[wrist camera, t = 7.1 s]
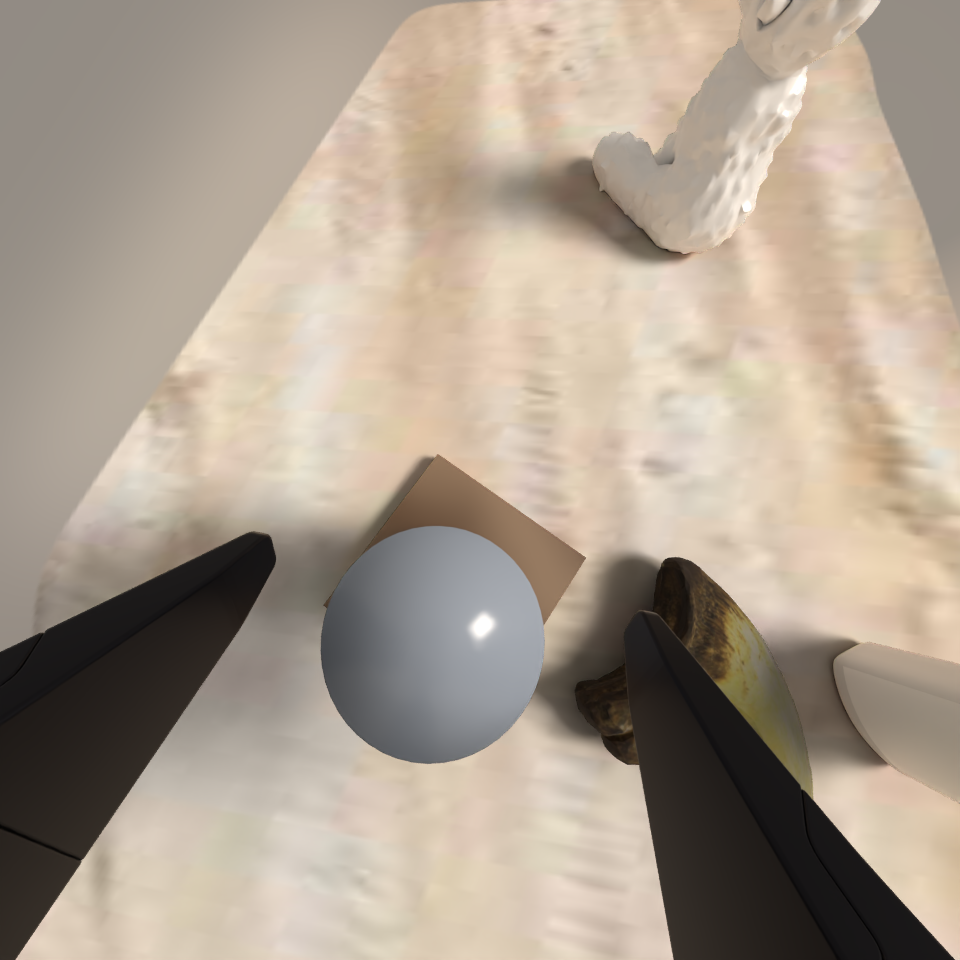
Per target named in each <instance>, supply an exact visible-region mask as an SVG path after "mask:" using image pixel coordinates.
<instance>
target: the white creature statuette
mask: <svg viewBox="0 0 960 960" xmlns="http://www.w3.org/2000/svg"><path fill="white" fill-rule="evenodd" d="M738 1H739V5H740V9H741V14H742V19H741V23H740V27H739V33H738V41H737V44H736V45H735V46H734V47H731V48H729V49H728V50H727V51H726V52H725V53H724V54H723V57H722V59H721V60H720V61H719V62H718V63H717V65H716V66H715V67H714V68H713V70H712V71H711V72H710V74H709V77H708V78H706V79H705V80H704V81H703V83H702V85H701V90H700V91H699V92H698V93H697V94H696V95H695V96H693V97H692V98H691V100H690V102H689V104H688V107H687V110H686V112H685V115H684V116H682V117H681V118H679V121H678V123H677V130H676V131H675V132H674V133H672V134H669V135H668V136H667V138H666V140H665V141H664V144H663V147H662V148H660V149H659V150H658V152H657V153H655V154H654V155H653V154H652V151H651V149H650V146H649V144H648V143H647V142H644V140H643V139H642V138H636V137H635V136H634V135H633V134H632V133H630V132H627V133H625V134H623V133H617V132H612V133H611V134H610V135H609V136H607V137H604V138H603V139H602V140H601V141H600V143H599V144H598V146H597V148H596V150H595V152H594V155H593V159H592V165H593V169H594V173H595V177H596V179H597V181H598V182H599V184H600V188H599V191H600V192H601V191H603V190H604V191H605V192H606V193H608V195H609V196H610V197H611V199H612V200H613V201H614V202H615V203H616V204H617V205H618V206H619V207H620V208H621V209H622V210H623V211H624V214H625V215H628V216H629V217H630V218H631V219H632V220H633V221H634V222H635V224H636V225H637V226H638V227H639V228H642V229H643V230H644V231H645V232H646V233H647V235H648V236H649V237H650V238H651V239H652V241H653V242H654V243H655V244H656V246H659V247H660V248H663V249H668V250H669V251H672V252H681V253H682V254H687V253H690V252H697V253H703V252H705V251H706V250H711V249H712V248H713V247H719V246H720V244H721V243H722V242H723V241H724V240H725V239H728V238H730V237H731V236H732V233H733V232H734V231H735V230H736V229H737V228H739V227H740V226H741V225H742V224H744V223H745V218H747V217H748V216H749V215H750V214H751V212H752V211H753V210H754V209H755V205H756V199H757V193H758V191H759V187H760V185H761V183H762V182H763V181H764V180H765V178H766V177H767V176H768V175H767V168H768V166H769V164H770V163H771V162H772V160H773V152H774V150H775V149H776V147H777V146H778V145H779V144H781V142H782V141H783V140H784V138H785V137H786V136H787V135H788V134H789V132H790V131H791V127H792V122H793V120H794V118H795V117H796V115H797V114H798V113H799V112H800V109H801V107H802V101H801V98H802V96H803V94H804V91H805V86H806V82H807V78H806V75H805V74H806V72H807V70H808V67H807V65H808V64H810V63H812V62H814V61H816V60H818V59H820V58H821V57H823V56H824V55H825V54H826V53H827V52H829V51H830V50H832V49H834V48H835V47H837V46H838V45H840V44H841V43H842V42H843V41H844V40H845V39H847V38H848V37H849V36H850V35H851V34H852V33H854V32H855V31H856V30H857V29H858V28H859V27H860V26H861V25H862V24H863V23H864V22H865V21H866V20H867V18H868V17H869V16H870V15H871V14H872V13H873V12H874V10H875V9H876V7H877V6H878V4H879V2H880V1H881V0H738Z"/></svg>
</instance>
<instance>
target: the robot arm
mask: <svg viewBox="0 0 960 960" xmlns="http://www.w3.org/2000/svg"><path fill="white" fill-rule="evenodd" d="M275 562H276V555H275V551H274V547H273V543H272V539H271V537H270V536H269V535H268V534H265V533H260V532H248V533H246V534H244V535H242V536H240V537H238V538H236V539H234V540H232V541H230V542H227V543H225V544H223V545H221V546H219V547H217V548H215V549H213V550H211V551H209V552H207V553H205V554H203V555H201V556H198V557H196V558H194V559H192V560H190V561H188V562H186V563H184V564H182V565H180V566H178V567H176V568H174V569H172V570H169V571H167V572H165V573H163V574H161V575H159V576H157V577H155V578H153V579H151V580H149V581H147V582H145V583H143V584H141V585H138V586H136V587H134V588H132V589H130V590H128V591H126V592H124V593H122V594H120V595H118V596H116V597H114V598H112V599H109V600H107V601H105V602H103V603H101V604H99V605H97V606H95V607H93V608H91V609H89V610H87V611H85V612H83V613H80V614H78V615H76V616H74V617H72V618H70V619H68V620H66V621H64V622H62V623H60V624H58V625H56V626H54V627H51V628H49V629H48V630H46V631H45V633H39V634H37V635H35V636H33V637H31V638H28V639H26V640H24V641H22V642H20V643H18V644H17V645H14V646H12V647H10V648H8V649H5V650H4V651H1V652H0V960H16V958H17V957H18V955H19V954H20V952H21V951H22V949H23V948H24V946H25V945H26V943H27V942H28V940H29V939H30V937H31V936H32V935H33V933H34V932H35V930H36V929H37V927H38V926H39V924H40V923H41V921H42V920H43V918H44V917H45V915H46V914H47V912H48V911H49V910H50V908H51V907H52V905H53V904H54V902H55V901H56V899H57V898H58V896H59V895H60V893H61V892H62V890H63V889H64V887H65V886H66V885H67V883H68V882H69V880H70V879H71V877H72V876H73V874H74V873H75V871H76V870H77V868H78V867H79V865H80V864H81V860H82V859H84V857H85V856H86V854H87V853H88V852H89V850H90V849H91V847H92V846H93V844H94V843H95V841H96V840H97V838H98V837H99V835H100V834H101V832H102V831H103V829H104V828H105V827H106V825H107V824H108V822H109V821H110V819H111V818H112V816H113V815H114V813H115V812H116V810H117V809H118V807H119V806H120V804H121V803H122V802H123V800H124V799H125V797H126V796H127V794H128V793H129V791H130V790H131V788H132V787H133V785H134V784H135V782H136V781H137V779H138V778H139V777H140V775H141V774H142V772H143V771H144V769H145V768H146V766H147V765H148V763H149V762H150V760H151V759H152V757H153V756H154V754H155V753H156V752H157V750H158V749H159V747H160V746H161V744H162V743H163V741H164V740H165V738H166V737H167V735H168V734H169V732H170V731H171V729H172V728H173V727H174V725H175V724H176V722H177V721H178V719H179V718H180V716H181V715H182V713H183V712H184V710H185V709H186V707H187V706H188V704H189V703H190V702H191V700H192V699H193V697H194V696H195V694H196V693H197V691H198V690H199V688H200V687H201V685H202V684H203V682H204V681H205V679H206V678H207V677H208V675H209V674H210V672H211V671H212V669H213V668H214V666H215V665H216V663H217V662H218V660H219V659H220V657H221V656H222V654H223V653H224V651H225V650H226V649H227V647H228V646H229V644H230V643H231V641H232V640H233V638H234V637H235V635H236V634H237V632H238V631H239V629H240V628H241V626H242V624H243V623H244V621H245V619H246V618H247V616H248V614H249V612H250V610H251V608H252V607H253V605H254V603H255V601H256V599H257V597H258V596H259V594H260V592H261V590H262V588H263V586H264V585H265V583H266V581H267V579H268V577H269V575H270V573H271V572H272V570H273V568H274V566H275ZM624 650H625V664H626V678H627V691H628V702H629V709H630V716H631V721H632V727H633V733H634V738H635V744H636V750H637V755H638V761H639V767H640V772H641V778H642V784H643V789H644V795H645V801H646V806H647V812H648V818H649V823H650V829H651V835H652V840H653V846H654V851H655V857H656V863H657V868H658V874H659V880H660V885H661V891H662V897H663V902H664V908H665V914H666V919H667V925H668V931H669V936H670V942H671V948H672V953H673V959H674V960H955V959H954V958H953V957H952V956H951V955H950V954H949V953H948V952H947V951H946V949H945V948H944V947H943V946H942V945H941V944H940V943H939V942H938V941H937V940H936V939H935V937H934V936H933V935H932V934H931V933H930V932H929V931H928V930H927V929H926V928H925V926H924V925H923V924H922V923H921V922H920V921H919V920H918V919H917V918H916V917H915V916H914V914H913V913H912V912H911V911H910V910H909V909H908V908H907V907H906V906H905V905H904V904H903V902H902V901H901V900H900V899H899V898H898V897H897V896H896V895H895V894H894V892H893V891H892V890H891V889H890V888H889V887H888V886H887V885H886V884H885V882H884V881H883V880H882V879H881V878H880V877H879V876H878V875H877V873H876V872H875V871H874V870H873V869H872V868H871V867H870V866H869V865H868V863H867V862H866V861H865V860H864V859H863V858H862V857H861V856H860V854H859V853H858V852H857V851H856V850H855V849H854V847H853V846H852V845H851V844H850V843H849V842H848V840H847V839H846V838H845V837H844V836H843V835H842V833H841V832H840V831H839V830H838V829H837V828H836V826H835V825H834V824H833V823H832V822H831V821H830V819H829V818H828V817H827V816H826V815H825V814H824V812H823V811H822V810H821V809H820V808H819V806H818V805H817V804H816V803H815V802H814V800H813V799H812V798H811V797H810V796H809V794H808V793H807V792H806V791H805V790H803V789H801V785H800V784H799V783H798V781H797V780H796V779H795V778H794V777H793V775H792V774H791V773H790V772H789V770H788V769H787V768H786V767H785V766H784V764H783V763H782V762H781V761H780V760H779V758H778V757H777V756H776V755H775V754H774V752H773V751H772V750H771V749H770V748H769V746H768V745H767V744H766V743H765V742H764V740H763V739H762V738H761V737H760V736H759V734H758V733H757V732H756V731H755V730H754V728H753V727H752V726H751V725H750V724H749V722H748V721H747V720H746V719H745V718H744V716H743V715H742V714H741V713H740V712H739V710H738V709H737V708H736V707H735V706H734V704H733V703H732V702H731V701H730V700H729V698H728V697H727V696H726V695H725V694H724V692H723V691H722V690H721V689H720V688H719V686H718V685H717V684H716V683H715V682H714V680H713V679H712V678H711V677H710V676H709V674H708V673H707V672H706V671H705V670H704V668H703V667H702V666H701V665H700V664H699V662H698V661H697V660H696V659H695V658H694V656H693V655H692V654H691V653H690V652H689V650H688V649H687V648H686V647H685V646H684V644H683V643H682V642H681V641H680V640H679V638H678V637H677V636H676V635H675V634H674V632H673V631H672V630H671V629H670V628H669V626H668V625H667V624H666V623H665V622H664V620H663V619H662V618H661V617H660V616H659V615H658V614H657V613H654V612H650V611H645V610H639V611H637V612H636V614H635V615H634V617H633V618H632V620H631V621H630V623H629V624H628V626H627V627H626V629H625V631H624Z"/></svg>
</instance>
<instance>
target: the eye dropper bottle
mask: <svg viewBox="0 0 960 960" xmlns="http://www.w3.org/2000/svg"><path fill="white" fill-rule="evenodd" d="M833 670H834V676H835V681H836V685H837V688H838V692H839V695H840V698H841V700H842V703H843V705H844V707H845V710H846V712H847V714H848V715H849V717H850V719H851V721H852V723H853V724H854V726H855V727H856V729H857V730H858V732H859V733H860V734H861V736H862V737H863V738H864V739H865V741H866V742H867V743H868V744H869V745H870V746H871V748H872V749H873V750H874V751H875V752H876V753H877V754H878V755H879V756H880V757H881V758H882V759H883V760H885V761H886V762H887V763H888V764H889V765H891V766H892V767H893V768H895V769H896V770H898V771H899V772H901V773H903V774H905V775H906V776H908V777H910V778H912V779H914V780H916V781H918V782H920V783H922V784H923V785H925V786H927V787H929V788H931V789H933V790H935V791H937V792H939V793H941V794H942V795H944V796H946V797H948V798H950V799H952V800H954V801H956V802H958V803H959V804H960V664H958V663H954V662H950V661H945V660H941V659H937V658H933V657H929V656H925V655H921V654H917V653H913V652H909V651H904V650H900V649H896V648H892V647H888V646H884V645H880V644H876V643H871V642H866V643H860V644H858V645H856V646H854V647H852V648H850V649H849V650H847V651H845V652H843V653H841V654H840V655H838V656H837V657H836V658H835V659H834V663H833Z"/></svg>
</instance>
